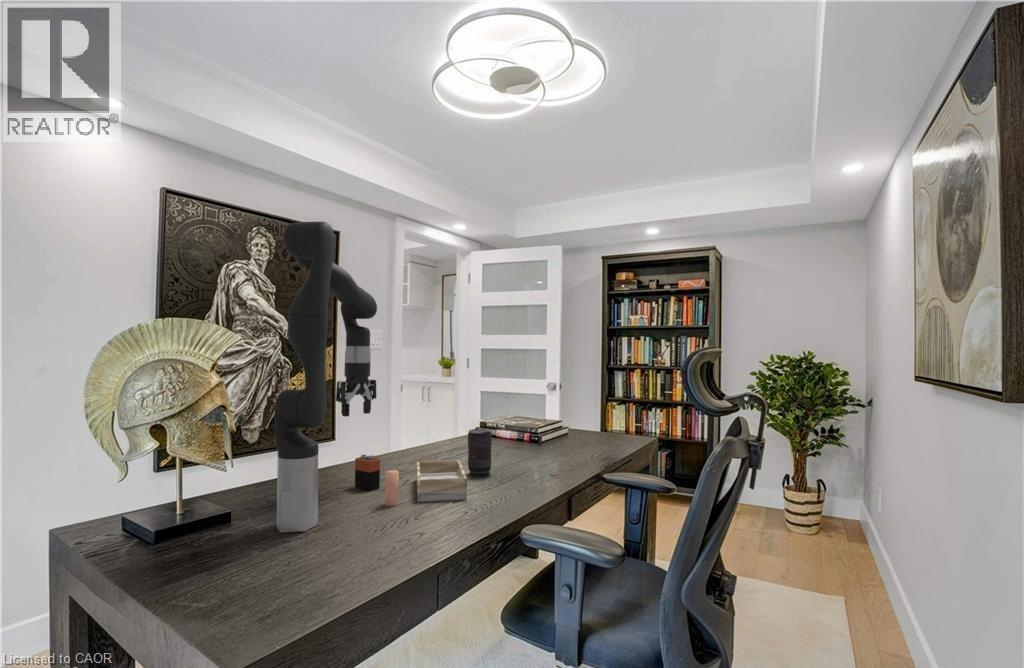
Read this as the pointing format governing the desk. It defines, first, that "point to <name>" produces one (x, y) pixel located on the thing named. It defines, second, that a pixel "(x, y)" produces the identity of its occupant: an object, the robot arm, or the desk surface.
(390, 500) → the peg
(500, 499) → the desk surface
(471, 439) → the camera lens
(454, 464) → the box
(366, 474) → the battery
